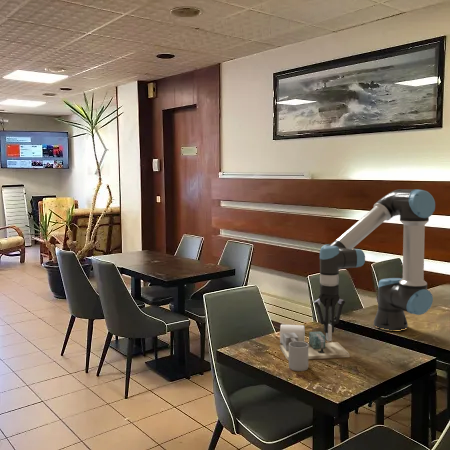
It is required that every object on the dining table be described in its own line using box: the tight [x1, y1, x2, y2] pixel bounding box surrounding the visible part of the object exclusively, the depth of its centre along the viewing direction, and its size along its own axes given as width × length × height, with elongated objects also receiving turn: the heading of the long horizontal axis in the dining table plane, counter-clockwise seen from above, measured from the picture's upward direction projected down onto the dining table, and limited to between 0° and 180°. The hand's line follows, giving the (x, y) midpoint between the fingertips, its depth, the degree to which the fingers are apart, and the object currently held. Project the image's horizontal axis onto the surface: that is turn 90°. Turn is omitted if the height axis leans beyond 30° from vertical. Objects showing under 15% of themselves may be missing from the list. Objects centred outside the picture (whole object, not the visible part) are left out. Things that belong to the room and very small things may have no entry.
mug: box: [279, 324, 306, 345], centre depth 209 cm, size 12×10×8 cm
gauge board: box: [279, 333, 351, 361], centre depth 197 cm, size 25×14×6 cm, turn 96°
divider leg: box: [308, 331, 326, 351], centre depth 198 cm, size 5×10×5 cm, turn 6°
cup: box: [288, 341, 309, 372], centre depth 182 cm, size 7×10×9 cm
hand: (328, 340), depth 200 cm, fingers closed
